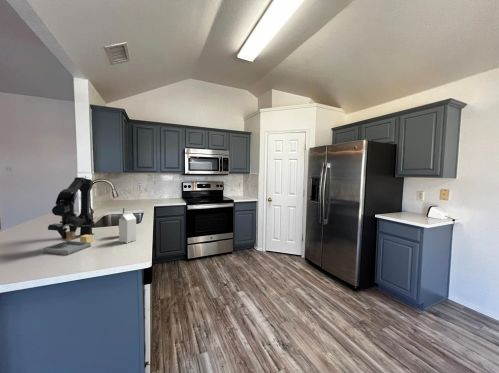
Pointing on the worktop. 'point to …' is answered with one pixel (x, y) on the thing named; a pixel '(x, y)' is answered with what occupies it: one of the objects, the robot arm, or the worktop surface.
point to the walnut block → (69, 236)
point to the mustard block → (86, 238)
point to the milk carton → (127, 228)
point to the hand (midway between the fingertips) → (68, 238)
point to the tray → (67, 247)
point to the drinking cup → (120, 216)
